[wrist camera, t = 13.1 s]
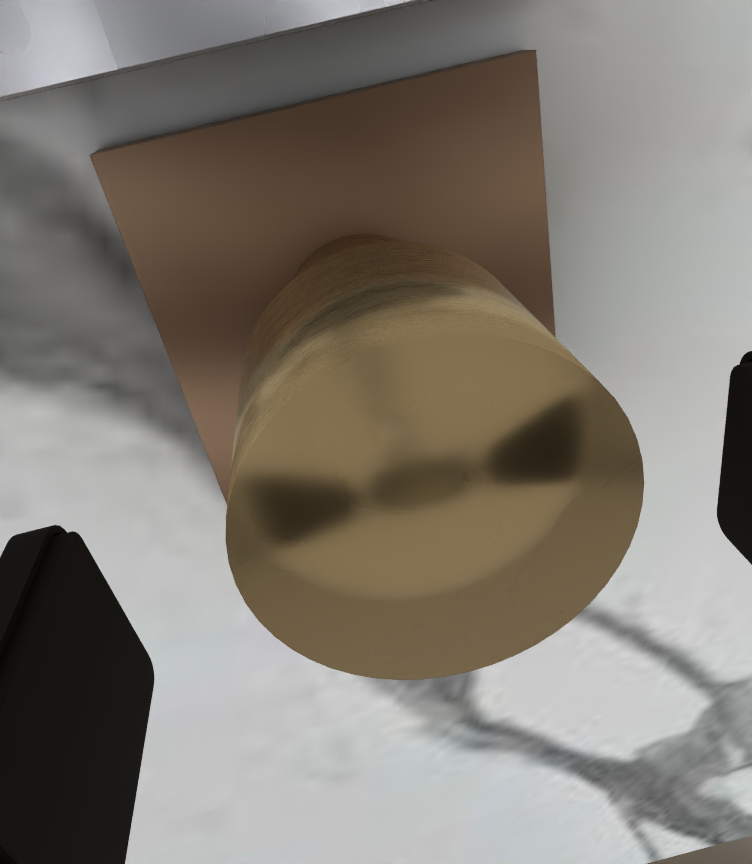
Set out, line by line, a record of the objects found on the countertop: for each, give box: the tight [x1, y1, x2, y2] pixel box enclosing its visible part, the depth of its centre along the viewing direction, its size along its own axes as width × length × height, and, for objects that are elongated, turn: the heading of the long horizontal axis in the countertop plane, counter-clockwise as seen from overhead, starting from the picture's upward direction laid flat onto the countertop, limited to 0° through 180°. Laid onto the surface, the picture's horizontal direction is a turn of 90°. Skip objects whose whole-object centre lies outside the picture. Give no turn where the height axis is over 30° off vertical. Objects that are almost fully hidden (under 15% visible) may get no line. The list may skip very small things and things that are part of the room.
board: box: [90, 50, 555, 505], centre depth 19 cm, size 11×11×1 cm
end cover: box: [226, 234, 644, 680], centre depth 14 cm, size 6×6×10 cm
